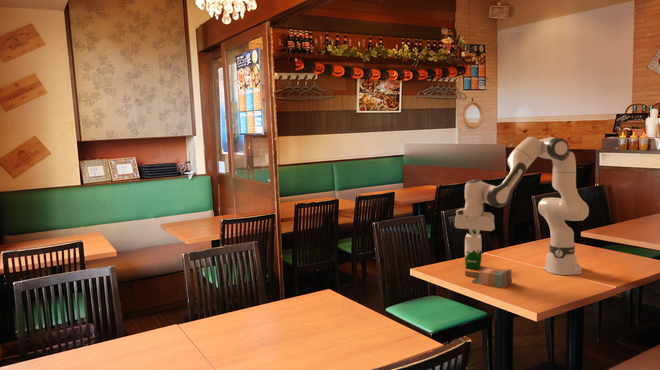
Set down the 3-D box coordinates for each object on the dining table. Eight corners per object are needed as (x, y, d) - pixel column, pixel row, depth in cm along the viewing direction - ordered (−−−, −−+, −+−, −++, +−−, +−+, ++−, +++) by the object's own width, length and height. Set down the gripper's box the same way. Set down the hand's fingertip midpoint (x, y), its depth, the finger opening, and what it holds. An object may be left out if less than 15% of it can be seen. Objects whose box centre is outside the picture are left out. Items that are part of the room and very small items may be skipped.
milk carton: (482, 265, 284) (482, 230, 282) (480, 270, 276) (480, 233, 274) (466, 264, 288) (466, 229, 285) (463, 268, 279) (463, 233, 277)
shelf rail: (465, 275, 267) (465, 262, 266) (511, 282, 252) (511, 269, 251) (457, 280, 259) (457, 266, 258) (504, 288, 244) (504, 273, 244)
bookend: (478, 278, 261) (478, 267, 260) (487, 279, 258) (487, 268, 257) (472, 282, 255) (472, 270, 254) (481, 283, 252) (481, 271, 251)
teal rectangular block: (501, 282, 254) (501, 270, 253) (508, 283, 252) (508, 271, 251) (495, 286, 248) (495, 274, 247) (502, 287, 246) (502, 275, 245)
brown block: (494, 281, 256) (494, 269, 255) (501, 282, 254) (501, 270, 253) (488, 285, 250) (488, 273, 249) (495, 286, 248) (495, 274, 247)
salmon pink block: (487, 280, 258) (487, 268, 258) (494, 281, 256) (494, 269, 255) (481, 284, 252) (481, 272, 251) (488, 285, 250) (488, 273, 249)
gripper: (496, 211, 255) (496, 238, 257) (458, 209, 268) (458, 234, 269) (491, 213, 250) (492, 241, 252) (452, 211, 263) (453, 237, 265)
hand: (474, 237), depth 261 cm, fingers closed
